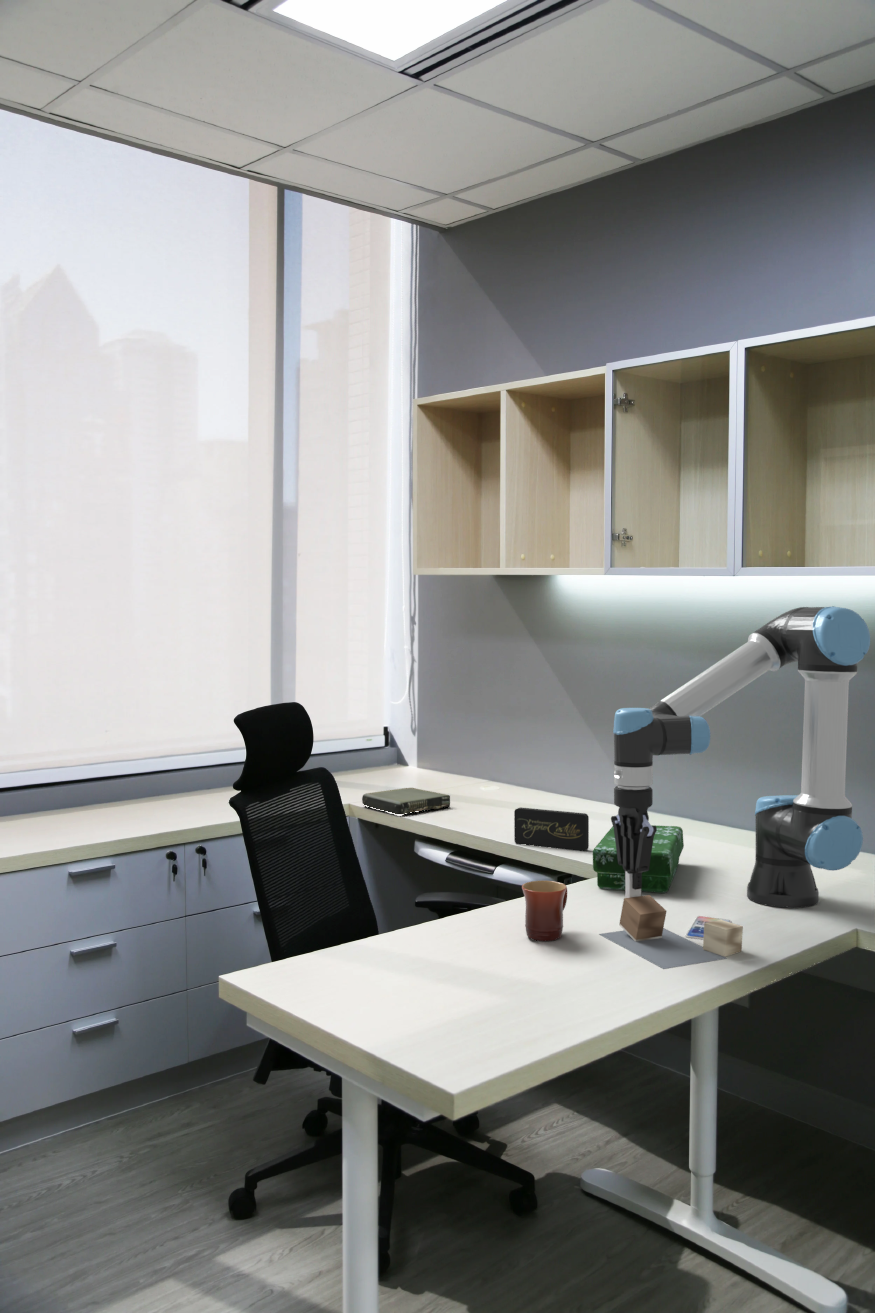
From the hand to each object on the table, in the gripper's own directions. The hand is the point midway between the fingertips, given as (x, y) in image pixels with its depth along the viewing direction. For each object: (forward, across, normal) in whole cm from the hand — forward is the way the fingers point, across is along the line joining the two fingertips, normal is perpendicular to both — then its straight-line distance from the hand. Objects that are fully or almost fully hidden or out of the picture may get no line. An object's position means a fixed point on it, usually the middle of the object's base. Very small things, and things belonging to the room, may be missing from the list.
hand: (633, 903), depth 209 cm
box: (+7, -38, +27) cm, 47 cm away
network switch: (+7, -143, +6) cm, 143 cm away
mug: (+6, -6, -16) cm, 18 cm away
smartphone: (+7, +4, +15) cm, 17 cm away
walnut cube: (+5, +2, 0) cm, 5 cm away
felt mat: (+6, +9, 0) cm, 11 cm away
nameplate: (+6, -74, +22) cm, 77 cm away
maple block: (+6, +16, +9) cm, 20 cm away
